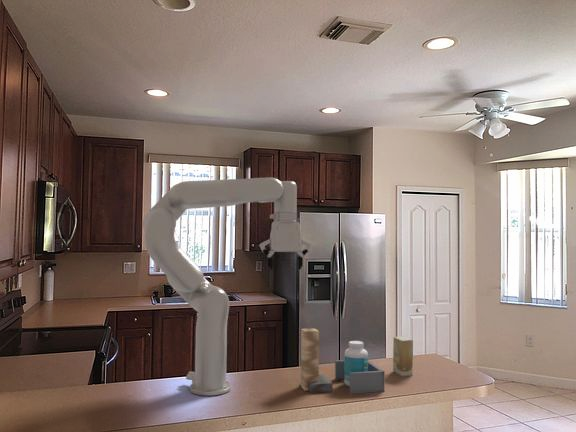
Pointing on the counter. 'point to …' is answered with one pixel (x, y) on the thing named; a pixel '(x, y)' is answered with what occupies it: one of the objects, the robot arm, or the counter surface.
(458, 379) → the counter surface
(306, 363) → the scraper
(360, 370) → the pill bottle
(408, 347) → the skincare box
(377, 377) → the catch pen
